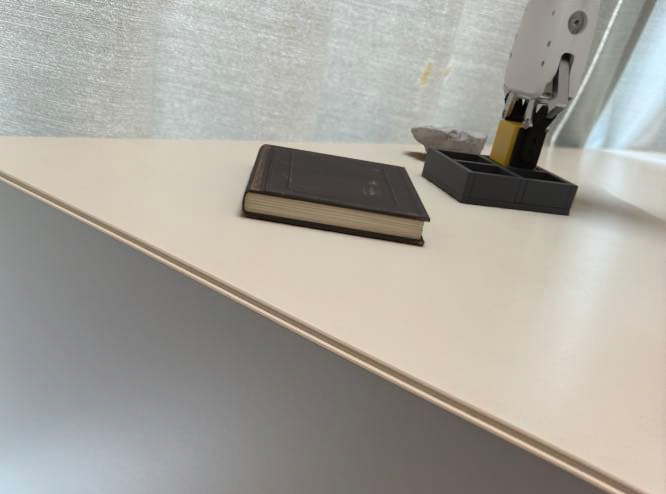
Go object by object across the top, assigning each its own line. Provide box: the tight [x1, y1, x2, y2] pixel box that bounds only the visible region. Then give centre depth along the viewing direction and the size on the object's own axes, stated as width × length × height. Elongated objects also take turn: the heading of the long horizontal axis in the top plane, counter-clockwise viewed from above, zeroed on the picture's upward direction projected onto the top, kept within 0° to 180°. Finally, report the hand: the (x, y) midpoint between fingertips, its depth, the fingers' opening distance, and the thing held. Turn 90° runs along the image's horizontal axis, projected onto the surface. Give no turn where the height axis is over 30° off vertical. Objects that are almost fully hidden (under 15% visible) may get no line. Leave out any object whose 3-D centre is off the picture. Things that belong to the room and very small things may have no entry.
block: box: [489, 119, 548, 170], centre depth 92 cm, size 4×4×4 cm
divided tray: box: [421, 147, 579, 216], centre depth 91 cm, size 13×13×3 cm
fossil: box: [410, 125, 488, 155], centre depth 106 cm, size 9×6×10 cm
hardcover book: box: [241, 143, 431, 246], centre depth 76 cm, size 16×23×2 cm
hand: (513, 161), depth 93 cm, fingers closed on block, 4 cm apart
